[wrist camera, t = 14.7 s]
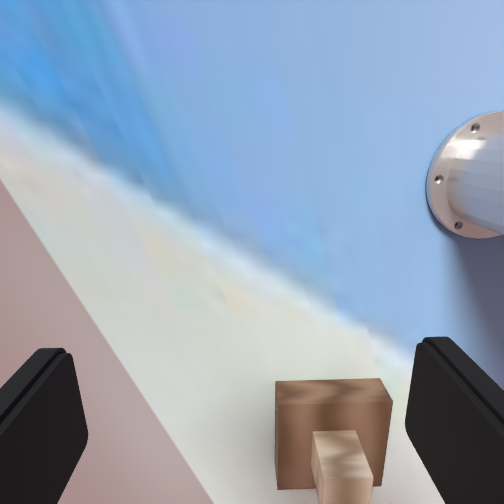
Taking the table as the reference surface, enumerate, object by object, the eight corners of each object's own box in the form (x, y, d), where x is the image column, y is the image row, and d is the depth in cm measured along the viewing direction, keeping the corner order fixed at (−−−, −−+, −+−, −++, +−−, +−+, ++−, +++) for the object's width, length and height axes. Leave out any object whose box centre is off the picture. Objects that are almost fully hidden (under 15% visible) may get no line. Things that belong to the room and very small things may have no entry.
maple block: (355, 430, 41) (373, 477, 36) (352, 462, 43) (368, 512, 37) (312, 431, 41) (324, 479, 35) (311, 463, 43) (321, 514, 37)
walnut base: (379, 378, 44) (392, 401, 40) (370, 458, 48) (381, 486, 44) (275, 381, 44) (278, 404, 40) (274, 461, 48) (277, 489, 44)
